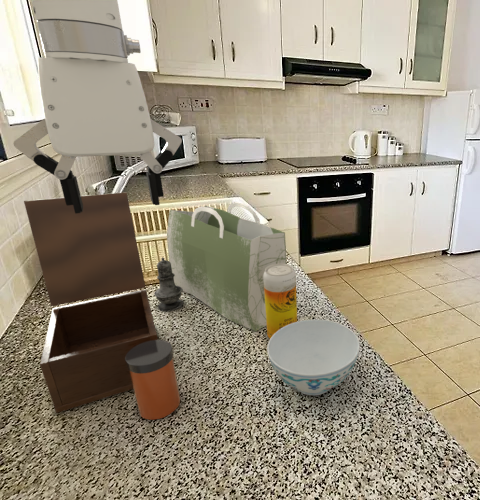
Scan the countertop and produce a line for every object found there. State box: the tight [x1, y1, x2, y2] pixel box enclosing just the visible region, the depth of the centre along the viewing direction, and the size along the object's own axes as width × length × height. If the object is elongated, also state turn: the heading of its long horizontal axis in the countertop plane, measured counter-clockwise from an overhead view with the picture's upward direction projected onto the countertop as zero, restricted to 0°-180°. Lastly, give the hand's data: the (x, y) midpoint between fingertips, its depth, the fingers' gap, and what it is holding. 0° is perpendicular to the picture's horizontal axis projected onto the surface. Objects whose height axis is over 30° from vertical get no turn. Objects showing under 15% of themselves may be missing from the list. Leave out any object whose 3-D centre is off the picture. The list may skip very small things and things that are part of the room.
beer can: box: [263, 263, 298, 340], centre depth 73 cm, size 6×6×15 cm
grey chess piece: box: [153, 257, 184, 312], centre depth 84 cm, size 6×6×12 cm
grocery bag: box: [166, 201, 287, 332], centre depth 86 cm, size 32×14×23 cm, turn 53°
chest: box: [39, 288, 159, 414], centre depth 65 cm, size 18×15×9 cm
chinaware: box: [266, 318, 361, 396], centre depth 62 cm, size 15×15×8 cm
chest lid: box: [23, 191, 146, 307], centre depth 68 cm, size 19×15×1 cm
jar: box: [125, 339, 181, 421], centre depth 56 cm, size 6×6×10 cm
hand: (118, 205), depth 46 cm, fingers open, 7 cm apart
